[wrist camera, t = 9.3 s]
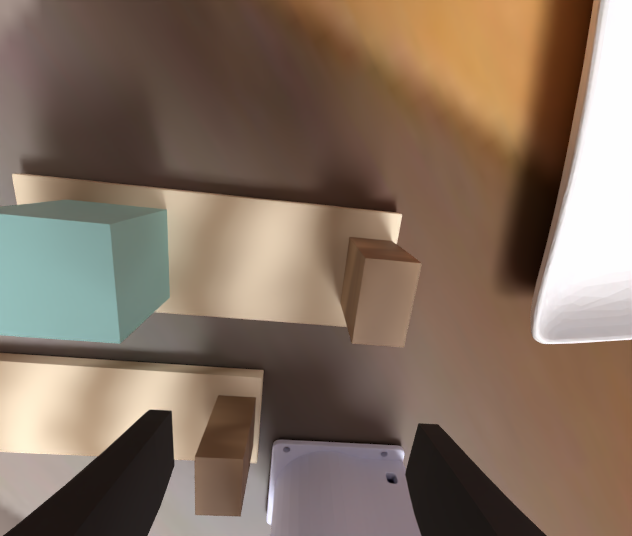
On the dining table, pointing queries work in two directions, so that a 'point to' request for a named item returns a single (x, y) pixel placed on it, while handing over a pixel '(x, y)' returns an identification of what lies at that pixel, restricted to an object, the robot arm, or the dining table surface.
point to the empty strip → (137, 414)
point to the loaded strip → (268, 257)
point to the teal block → (81, 269)
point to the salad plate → (593, 199)
